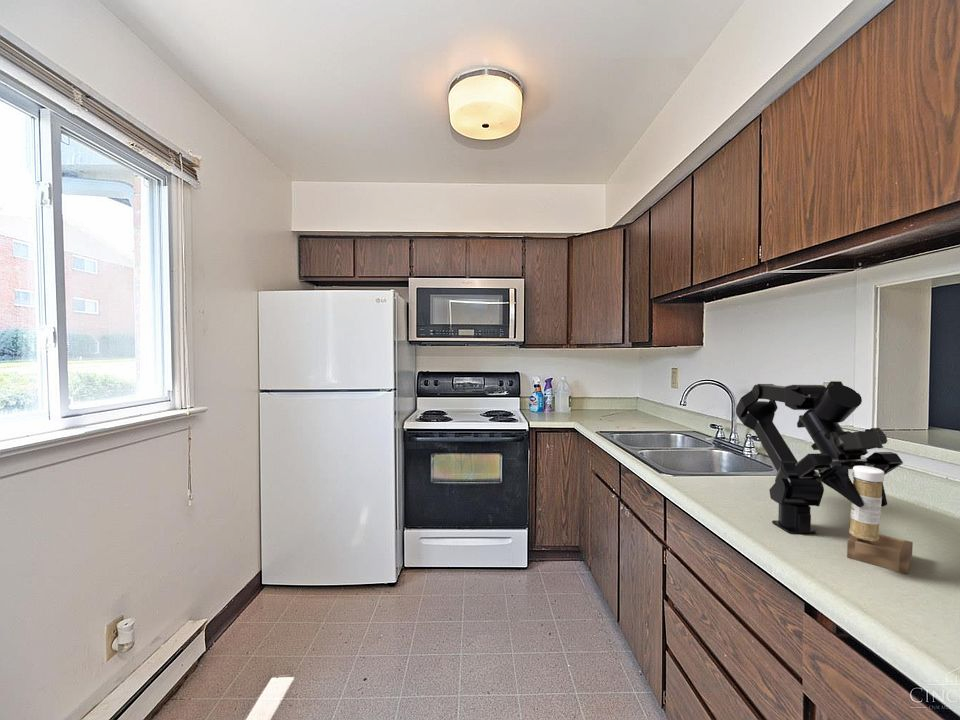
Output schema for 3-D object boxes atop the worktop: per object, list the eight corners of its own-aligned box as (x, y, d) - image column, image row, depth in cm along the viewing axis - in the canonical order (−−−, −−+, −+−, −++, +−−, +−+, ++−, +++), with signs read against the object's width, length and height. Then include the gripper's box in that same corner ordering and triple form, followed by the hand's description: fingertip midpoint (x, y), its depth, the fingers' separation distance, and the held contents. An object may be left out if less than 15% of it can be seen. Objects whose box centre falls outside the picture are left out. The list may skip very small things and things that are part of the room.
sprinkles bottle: (848, 529, 90) (852, 463, 89) (879, 535, 87) (883, 467, 86) (848, 537, 87) (853, 468, 86) (880, 544, 84) (885, 473, 83)
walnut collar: (847, 557, 92) (847, 540, 92) (855, 544, 98) (855, 528, 98) (907, 574, 85) (908, 555, 85) (912, 559, 91) (912, 542, 91)
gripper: (808, 413, 88) (856, 488, 78) (896, 412, 90) (954, 485, 80) (777, 442, 97) (816, 513, 87) (858, 441, 98) (906, 510, 88)
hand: (873, 505), depth 85 cm, fingers closed on sprinkles bottle, 4 cm apart
